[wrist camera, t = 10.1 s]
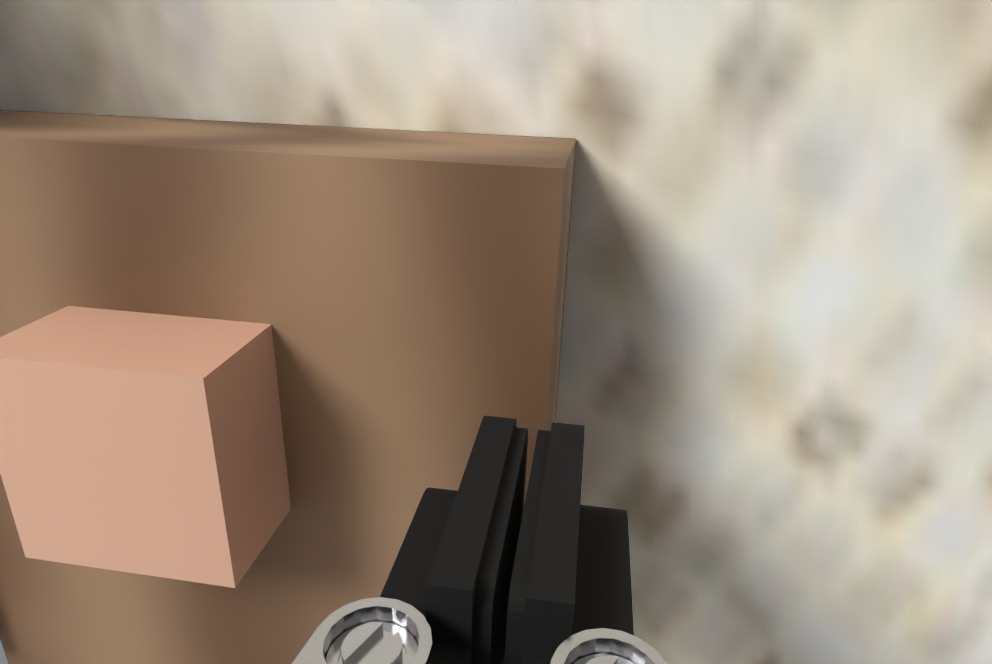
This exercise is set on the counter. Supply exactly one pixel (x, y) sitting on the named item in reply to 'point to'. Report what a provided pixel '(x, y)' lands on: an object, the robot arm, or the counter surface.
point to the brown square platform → (290, 340)
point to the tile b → (143, 442)
